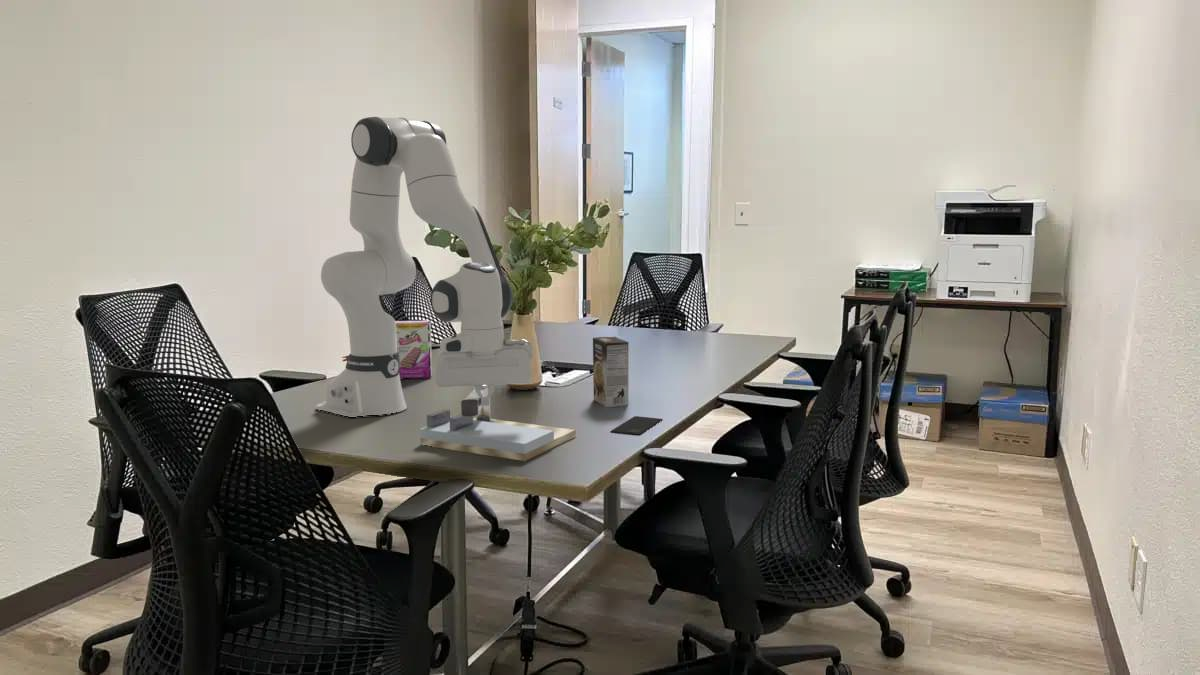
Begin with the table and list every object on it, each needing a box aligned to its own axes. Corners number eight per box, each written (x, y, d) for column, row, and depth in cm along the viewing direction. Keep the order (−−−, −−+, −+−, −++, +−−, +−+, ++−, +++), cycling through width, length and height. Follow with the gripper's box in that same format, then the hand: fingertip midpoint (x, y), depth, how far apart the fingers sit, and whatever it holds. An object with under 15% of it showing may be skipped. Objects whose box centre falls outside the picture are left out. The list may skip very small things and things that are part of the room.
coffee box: (592, 399, 226) (591, 337, 223) (615, 397, 228) (615, 335, 226) (605, 407, 217) (604, 342, 215) (629, 405, 220) (629, 341, 217)
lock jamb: (420, 445, 186) (419, 417, 185) (477, 423, 203) (476, 397, 202) (525, 461, 174) (524, 431, 173) (575, 436, 191) (575, 409, 190)
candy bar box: (392, 380, 253) (389, 323, 250) (394, 376, 258) (391, 320, 255) (431, 378, 254) (429, 322, 252) (433, 375, 259) (430, 319, 257)
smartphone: (633, 418, 208) (609, 434, 194) (633, 414, 208) (609, 430, 194) (663, 421, 205) (641, 438, 191) (663, 417, 205) (641, 434, 191)
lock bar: (477, 418, 200) (476, 383, 199) (492, 418, 200) (491, 383, 199) (460, 440, 183) (459, 401, 181) (477, 440, 182) (475, 401, 181)
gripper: (531, 336, 189) (534, 400, 191) (434, 340, 187) (438, 404, 189) (533, 341, 183) (535, 406, 185) (432, 344, 181) (435, 411, 183)
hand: (485, 405), depth 187 cm, fingers closed
